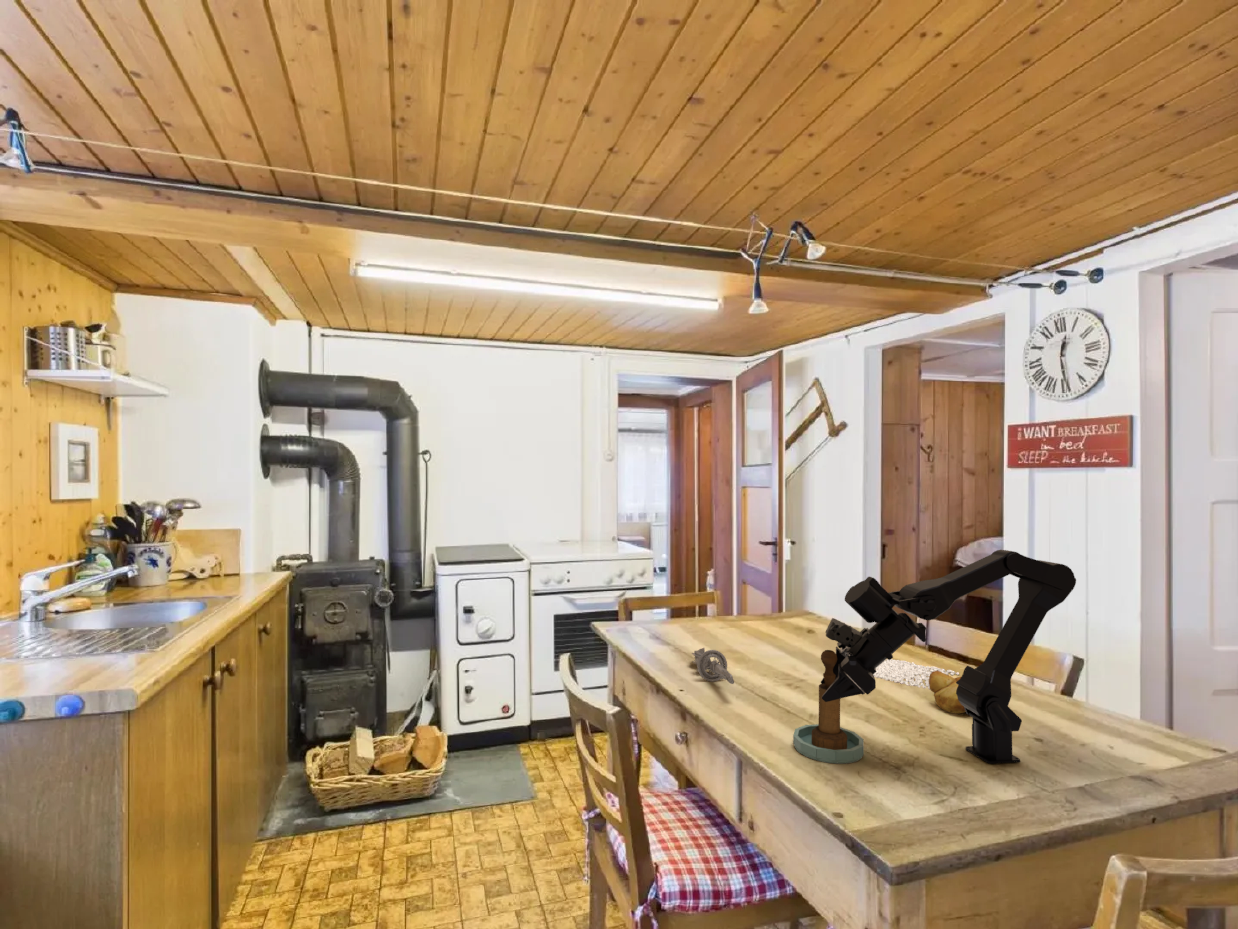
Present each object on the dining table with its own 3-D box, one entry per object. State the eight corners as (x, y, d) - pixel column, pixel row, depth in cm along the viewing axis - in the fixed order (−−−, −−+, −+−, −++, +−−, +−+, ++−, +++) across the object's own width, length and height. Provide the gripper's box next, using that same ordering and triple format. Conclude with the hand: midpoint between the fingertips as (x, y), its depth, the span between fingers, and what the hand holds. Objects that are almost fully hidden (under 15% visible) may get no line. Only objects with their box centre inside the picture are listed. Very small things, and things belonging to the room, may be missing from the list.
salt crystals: (889, 661, 179) (888, 656, 179) (963, 677, 165) (963, 671, 165) (858, 676, 165) (858, 670, 165) (937, 695, 151) (937, 688, 151)
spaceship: (711, 671, 142) (741, 656, 143) (678, 647, 176) (702, 635, 177) (724, 703, 141) (755, 688, 142) (688, 673, 175) (713, 661, 177)
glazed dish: (877, 761, 113) (876, 749, 113) (811, 765, 111) (811, 753, 112) (842, 734, 126) (842, 723, 126) (783, 737, 124) (783, 726, 124)
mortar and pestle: (850, 754, 115) (849, 656, 115) (813, 751, 116) (813, 654, 117) (844, 739, 121) (843, 647, 122) (809, 737, 123) (809, 645, 123)
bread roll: (978, 702, 145) (977, 667, 145) (1005, 717, 135) (1005, 680, 135) (924, 702, 144) (923, 668, 145) (948, 718, 135) (947, 681, 135)
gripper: (848, 597, 127) (793, 647, 130) (854, 616, 109) (790, 673, 112) (890, 639, 124) (833, 689, 127) (904, 665, 107) (836, 722, 110)
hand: (822, 691), depth 119 cm, fingers open, 9 cm apart
